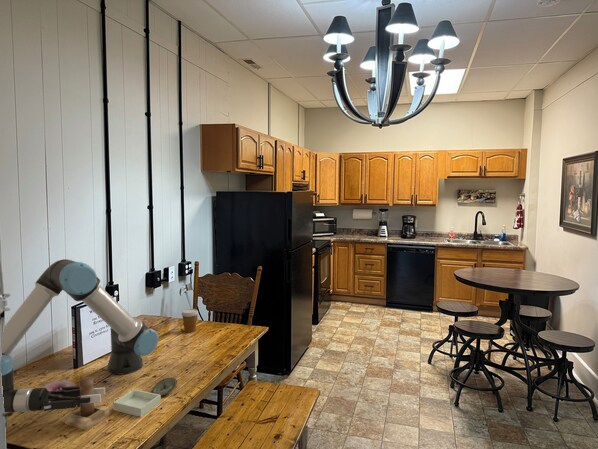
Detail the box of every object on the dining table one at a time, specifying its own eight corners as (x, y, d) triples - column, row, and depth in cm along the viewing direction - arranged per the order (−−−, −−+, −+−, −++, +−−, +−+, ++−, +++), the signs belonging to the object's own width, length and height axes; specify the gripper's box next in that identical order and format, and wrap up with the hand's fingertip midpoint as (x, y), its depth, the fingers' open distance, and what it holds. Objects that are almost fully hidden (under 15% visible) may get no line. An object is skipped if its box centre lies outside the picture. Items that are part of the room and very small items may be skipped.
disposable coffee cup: (181, 329, 248) (181, 309, 247) (197, 327, 251) (197, 308, 250) (182, 334, 239) (181, 313, 238) (198, 332, 242) (198, 312, 241)
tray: (113, 410, 156) (113, 402, 156) (134, 396, 166) (134, 389, 166) (141, 416, 151) (140, 408, 151) (160, 402, 162) (160, 395, 161)
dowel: (77, 421, 148) (76, 381, 147) (88, 415, 152) (86, 376, 151) (87, 424, 146) (85, 383, 145) (97, 418, 150) (96, 378, 149)
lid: (182, 391, 171) (182, 379, 171) (160, 400, 164) (160, 388, 163) (168, 383, 178) (168, 372, 178) (146, 391, 170) (146, 380, 170)
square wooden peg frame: (65, 424, 146) (64, 416, 146) (88, 410, 156) (88, 402, 155) (86, 430, 143) (86, 421, 142) (109, 415, 152) (109, 407, 152)
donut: (32, 408, 157) (31, 395, 156) (43, 392, 170) (42, 380, 169) (72, 403, 161) (71, 391, 160) (79, 388, 173) (79, 376, 173)
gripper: (43, 397, 154) (109, 393, 158) (20, 423, 137) (95, 417, 141) (42, 378, 154) (109, 374, 158) (19, 401, 136) (94, 396, 140)
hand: (102, 394), depth 149 cm, fingers closed on dowel, 4 cm apart
